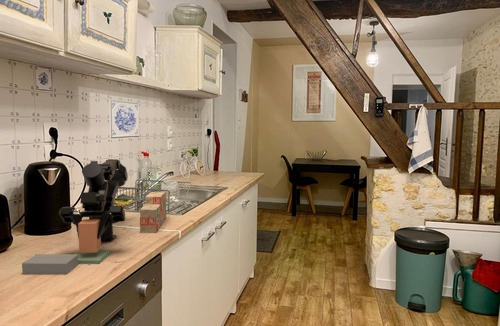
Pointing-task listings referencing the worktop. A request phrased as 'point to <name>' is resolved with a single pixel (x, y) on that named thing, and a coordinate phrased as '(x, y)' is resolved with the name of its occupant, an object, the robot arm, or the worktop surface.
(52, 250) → the worktop surface
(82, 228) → the terracotta block
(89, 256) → the green mat
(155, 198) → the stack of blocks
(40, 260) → the slate block
